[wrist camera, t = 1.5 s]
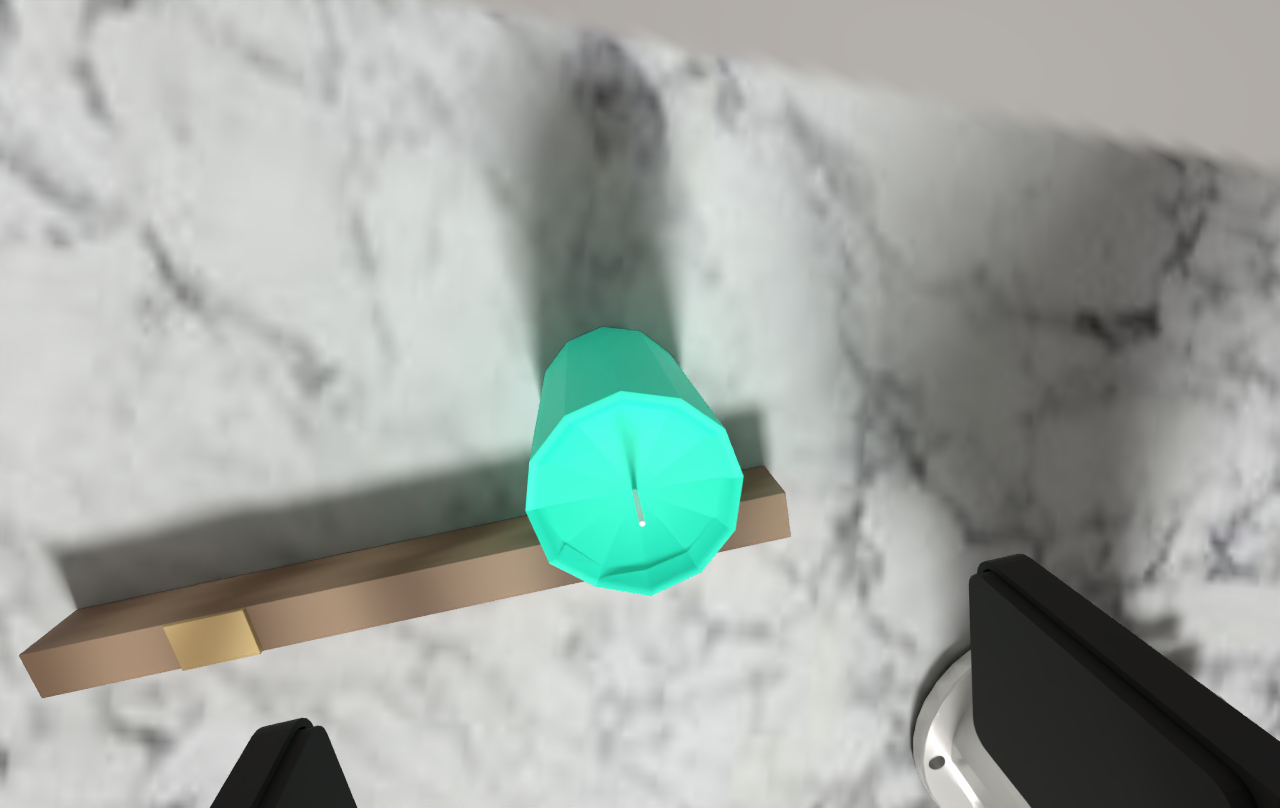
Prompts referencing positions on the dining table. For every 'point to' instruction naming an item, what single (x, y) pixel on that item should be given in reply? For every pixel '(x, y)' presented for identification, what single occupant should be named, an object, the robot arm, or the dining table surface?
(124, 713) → the dining table surface
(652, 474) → the candle
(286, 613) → the rail
